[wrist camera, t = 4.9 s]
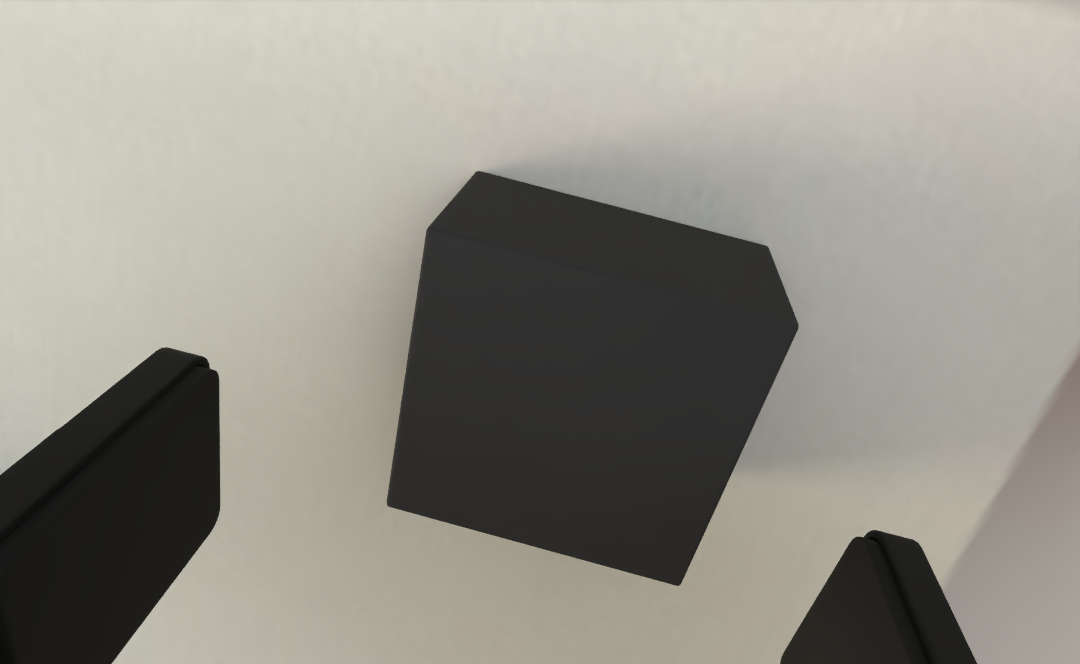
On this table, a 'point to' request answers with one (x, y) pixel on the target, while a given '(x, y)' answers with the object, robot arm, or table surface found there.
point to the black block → (583, 374)
